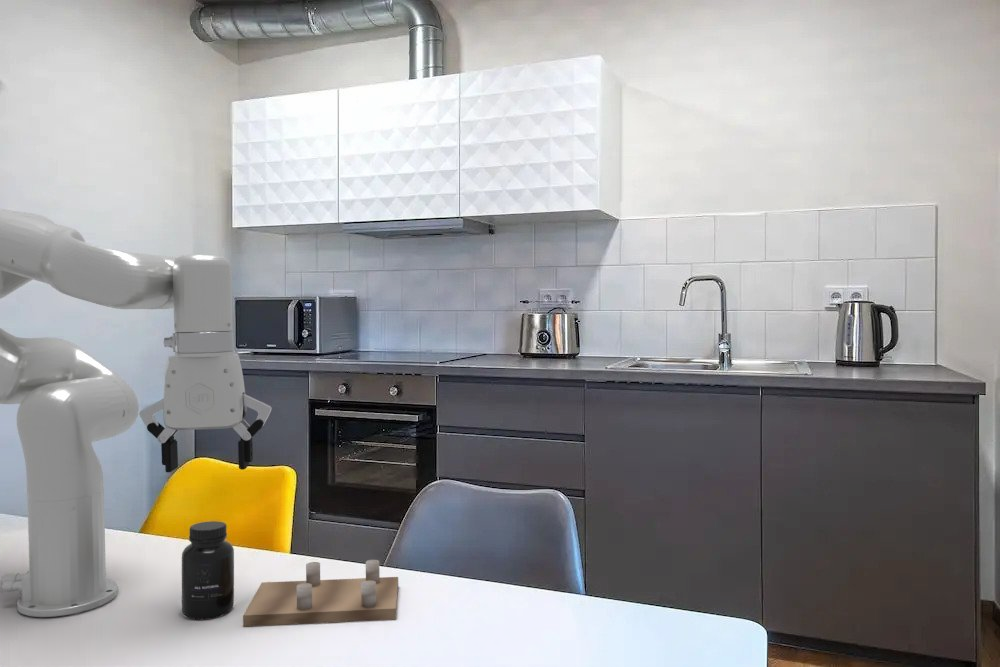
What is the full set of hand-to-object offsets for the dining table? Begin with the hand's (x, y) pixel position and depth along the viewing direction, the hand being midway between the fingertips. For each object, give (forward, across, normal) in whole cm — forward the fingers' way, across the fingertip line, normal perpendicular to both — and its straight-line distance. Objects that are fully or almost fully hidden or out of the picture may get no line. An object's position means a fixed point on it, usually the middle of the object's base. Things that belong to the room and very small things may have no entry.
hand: (208, 468), depth 105 cm
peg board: (+20, +16, 0) cm, 25 cm away
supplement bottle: (+20, 0, 0) cm, 20 cm away
